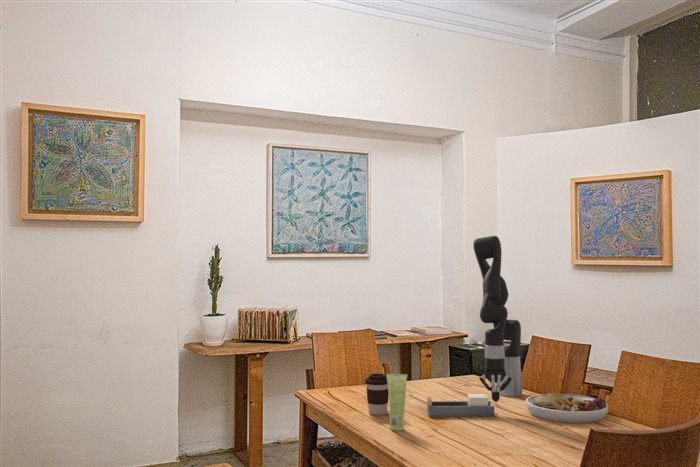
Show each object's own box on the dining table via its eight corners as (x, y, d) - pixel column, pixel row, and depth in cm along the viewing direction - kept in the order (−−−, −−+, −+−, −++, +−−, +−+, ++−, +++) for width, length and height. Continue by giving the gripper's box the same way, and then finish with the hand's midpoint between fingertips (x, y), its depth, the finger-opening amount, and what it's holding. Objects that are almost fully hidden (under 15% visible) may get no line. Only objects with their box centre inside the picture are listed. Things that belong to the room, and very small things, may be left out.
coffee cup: (388, 416, 231) (388, 377, 231) (363, 415, 233) (363, 376, 233) (392, 410, 240) (391, 372, 241) (367, 409, 242) (367, 372, 243)
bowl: (518, 420, 225) (518, 399, 225) (534, 403, 251) (533, 384, 252) (605, 429, 211) (604, 407, 211) (611, 410, 238) (610, 390, 238)
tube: (398, 426, 217) (397, 372, 218) (408, 429, 213) (407, 374, 214) (387, 429, 214) (386, 374, 215) (396, 432, 210) (396, 376, 211)
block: (485, 409, 236) (485, 394, 236) (488, 413, 230) (488, 397, 230) (467, 409, 236) (467, 394, 236) (470, 413, 230) (469, 397, 230)
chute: (490, 411, 237) (489, 396, 237) (494, 417, 228) (494, 401, 228) (426, 411, 238) (426, 396, 238) (428, 417, 229) (428, 401, 230)
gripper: (509, 354, 237) (510, 399, 236) (476, 355, 237) (476, 399, 237) (514, 357, 229) (515, 403, 229) (479, 358, 230) (480, 403, 229)
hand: (495, 401), depth 233 cm, fingers closed
